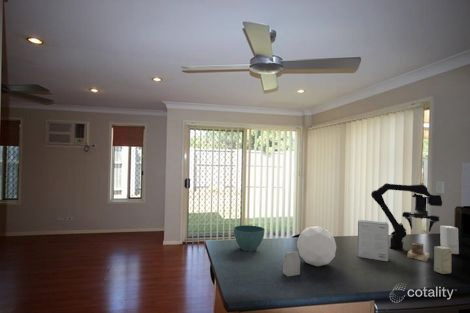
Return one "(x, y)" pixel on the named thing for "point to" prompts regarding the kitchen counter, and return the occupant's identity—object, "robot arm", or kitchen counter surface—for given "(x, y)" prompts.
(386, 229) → the hard drive box
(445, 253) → the skincare box
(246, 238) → the plant pot
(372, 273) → the kitchen counter surface
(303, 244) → the ball
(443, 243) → the skincare box
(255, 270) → the kitchen counter surface
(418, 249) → the wooden cube
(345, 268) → the kitchen counter surface
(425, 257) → the oak block
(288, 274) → the grey upright block
